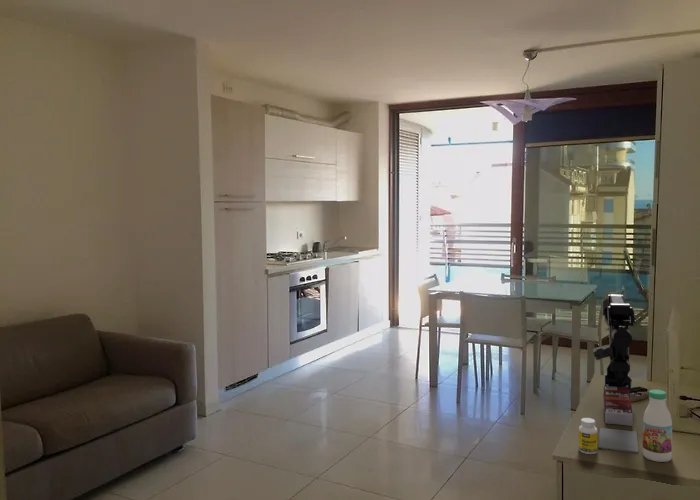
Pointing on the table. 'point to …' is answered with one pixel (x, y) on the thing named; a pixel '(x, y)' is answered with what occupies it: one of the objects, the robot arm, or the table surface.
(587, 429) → the supplement bottle
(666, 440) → the milk bottle
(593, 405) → the table surface
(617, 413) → the supplement box
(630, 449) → the mat
